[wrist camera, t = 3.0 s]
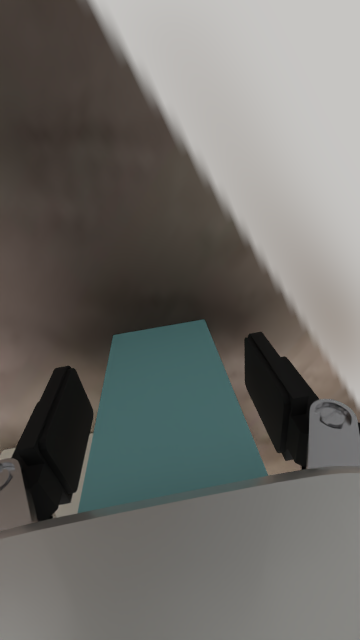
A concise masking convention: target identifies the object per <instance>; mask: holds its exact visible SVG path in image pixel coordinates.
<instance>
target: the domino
mask: <svg viewBox="0 0 360 640" xmlns="http://www.w3.org/2000/svg"><path fill="white" fill-rule="evenodd" d="M265 476H268V474H267V471H266V469H265V467H264V464H263V462H262V459H261V457H260V454H259V452H258V449H257V447H256V444H255V442H254V440H253V437H252V435H251V432H250V430H249V427H248V425H247V422H246V420H245V418H244V415H243V413H242V410H241V408H240V405H239V403H238V400H237V398H236V395H235V393H234V391H233V388H232V386H231V383H230V381H229V378H228V376H227V373H226V371H225V369H224V366H223V364H222V361H221V359H220V356H219V354H218V351H217V349H216V346H215V344H214V342H213V339H212V337H211V334H210V332H209V329H208V327H207V324H206V322H205V320H204V319H203V320H197V321H191V322H186V323H180V324H174V325H168V326H163V327H157V328H151V329H145V330H140V331H134V332H128V333H122V334H117V335H113V339H112V344H111V349H110V354H109V359H108V364H107V369H106V374H105V379H104V384H103V389H102V394H101V399H100V403H99V408H98V413H97V418H96V423H95V428H94V433H93V438H92V443H91V448H90V453H89V458H88V463H87V468H86V473H85V478H84V483H83V488H82V493H81V498H80V503H79V508H78V513H82V512H87V511H92V510H96V509H101V508H106V507H111V506H116V505H121V504H126V503H131V502H136V501H141V500H146V499H151V498H156V497H161V496H166V495H171V494H177V493H182V492H187V491H192V490H197V489H202V488H207V487H212V486H218V485H223V484H228V483H233V482H238V481H244V480H249V479H254V478H259V477H265Z"/></svg>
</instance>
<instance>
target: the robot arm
mask: <svg viewBox="0 0 360 640" xmlns="http://www.w3.org/2000/svg"><path fill="white" fill-rule="evenodd" d="M245 385H246V388H247V390H248V392H249V395H250V397H251V399H252V401H253V403H254V405H255V407H256V409H257V411H258V414H259V416H260V418H261V420H262V422H263V424H264V426H265V428H266V430H267V433H268V435H269V437H270V439H271V441H272V443H273V445H274V447H275V449H276V451H277V453H282V455H283V457H284V459H285V461H288V460H293V459H294V461H295V463H297V464H299V465H301V466H300V470H299V471H293V472H287V473H281V474H276V475H270V476H265V477H259V478H254V479H249V480H244V481H238V482H233V483H228V484H223V485H218V486H212V487H207V488H202V489H197V490H192V491H187V492H182V493H177V494H171V495H166V496H161V497H156V498H151V499H146V500H141V501H136V502H131V503H126V504H121V505H116V506H111V507H106V508H101V509H96V510H92V511H87V512H82V513H77V514H72V515H67V516H62V517H56V514H55V511H56V510H57V509H58V507H59V505H63V504H68V503H71V499H72V495H73V493H75V492H76V491H77V489H78V485H79V480H80V476H81V471H82V466H83V462H84V457H85V452H86V448H87V443H88V439H89V434H90V429H91V425H92V420H93V409H92V406H91V404H90V402H89V399H88V397H87V395H86V393H85V390H84V388H83V386H82V383H81V381H80V379H79V376H78V374H77V372H76V370H75V369H74V368H71V367H70V366H65V367H59V368H55V370H54V371H53V374H52V376H51V378H50V380H49V382H48V384H47V386H46V388H45V391H44V393H43V395H42V397H41V399H40V401H39V402H38V403H37V405H36V407H35V409H34V411H33V413H32V415H31V417H30V419H29V421H28V423H27V425H26V428H25V430H24V432H23V434H22V436H21V438H20V440H19V442H18V444H17V446H16V449H15V451H14V453H13V455H12V457H11V458H6V459H2V460H0V640H360V423H358V420H357V418H356V415H355V414H354V412H353V411H352V410H351V409H350V408H349V407H348V406H346V405H345V404H343V403H341V402H339V401H335V400H332V399H320V400H319V398H318V397H317V396H316V394H315V393H314V392H313V391H312V389H311V388H310V387H309V385H308V384H307V383H306V382H305V380H304V379H303V378H302V376H301V375H300V374H299V373H298V371H297V370H296V369H295V367H294V366H293V365H292V364H291V362H290V361H289V360H288V359H287V358H286V357H280V356H279V355H278V353H277V352H276V351H275V349H274V348H273V346H272V345H271V344H270V342H269V341H268V340H267V338H266V337H265V336H264V334H263V333H262V332H257V333H251V334H249V335H248V337H247V338H245Z"/></svg>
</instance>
